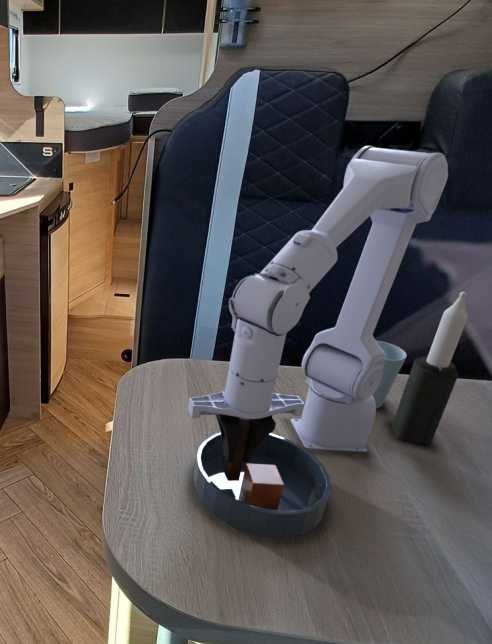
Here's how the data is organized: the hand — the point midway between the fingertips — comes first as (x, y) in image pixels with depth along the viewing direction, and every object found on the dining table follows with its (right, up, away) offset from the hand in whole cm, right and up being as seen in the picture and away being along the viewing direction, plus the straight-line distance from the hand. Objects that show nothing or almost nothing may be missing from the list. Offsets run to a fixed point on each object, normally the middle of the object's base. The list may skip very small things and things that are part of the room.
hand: (235, 457), depth 70 cm
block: (+3, -5, 0) cm, 6 cm away
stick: (0, -3, +1) cm, 3 cm away
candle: (+33, 0, +15) cm, 36 cm away
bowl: (+3, -5, +2) cm, 6 cm away
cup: (+31, +5, +24) cm, 39 cm away
